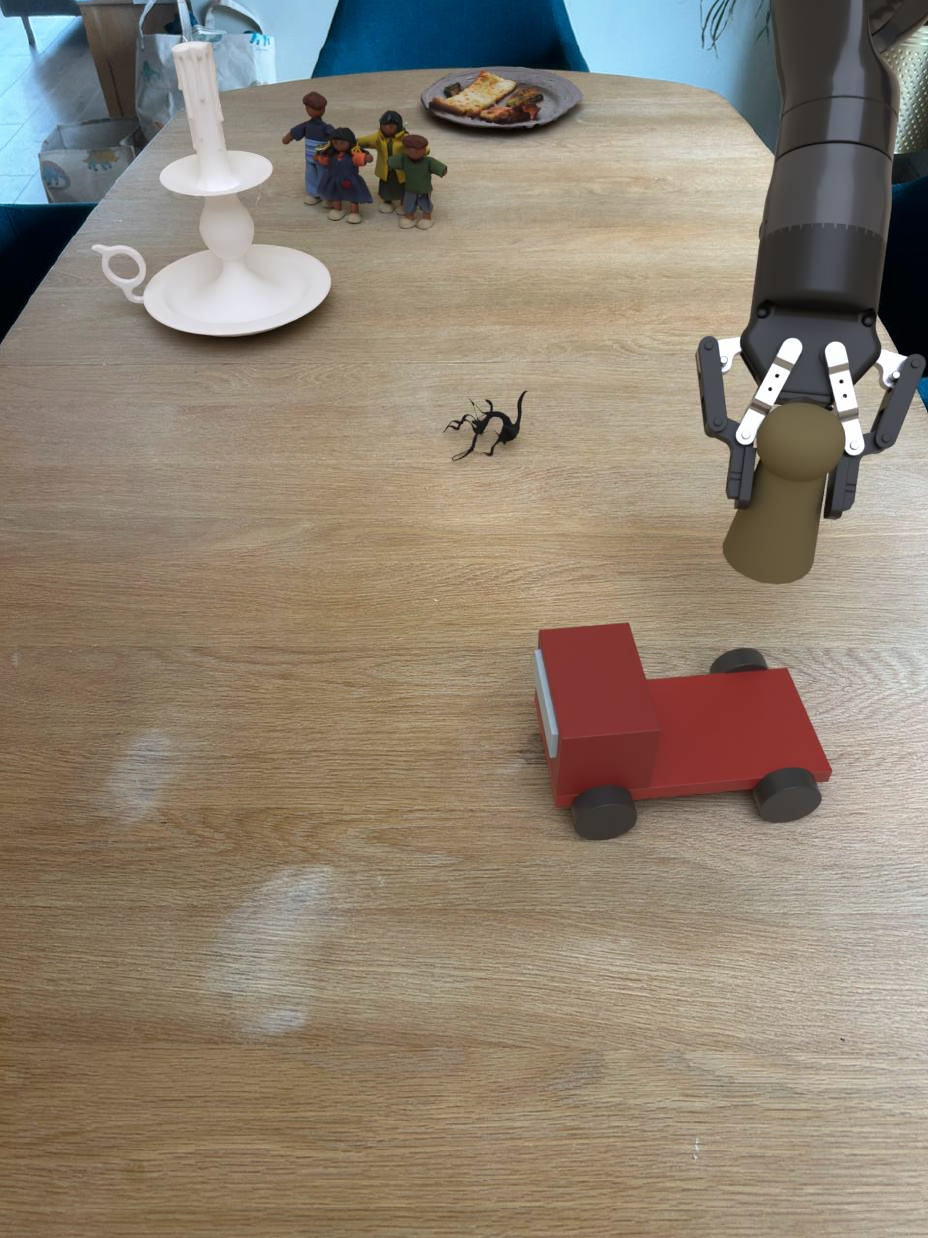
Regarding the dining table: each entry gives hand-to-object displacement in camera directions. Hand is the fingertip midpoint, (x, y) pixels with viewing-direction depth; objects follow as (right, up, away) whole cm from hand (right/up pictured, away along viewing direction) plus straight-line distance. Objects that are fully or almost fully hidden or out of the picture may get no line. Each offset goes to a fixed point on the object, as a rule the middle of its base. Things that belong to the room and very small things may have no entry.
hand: (787, 512), depth 63 cm
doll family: (-33, +47, +69) cm, 90 cm away
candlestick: (-47, +28, +50) cm, 75 cm away
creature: (-19, +10, +33) cm, 39 cm away
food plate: (-15, +73, +94) cm, 120 cm away
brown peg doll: (0, -2, +5) cm, 6 cm away
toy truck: (-6, -16, +7) cm, 18 cm away
